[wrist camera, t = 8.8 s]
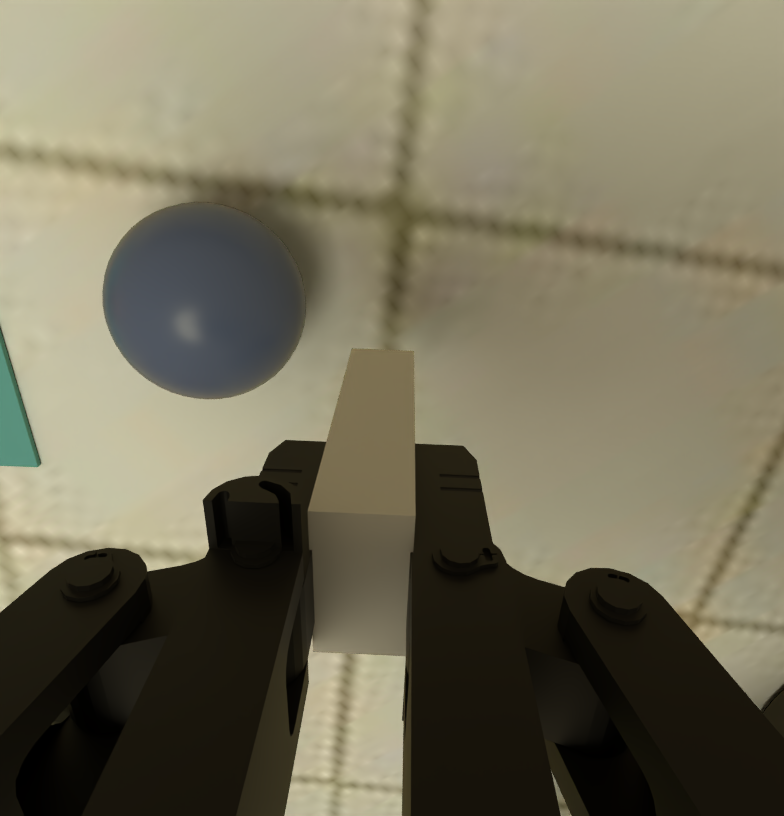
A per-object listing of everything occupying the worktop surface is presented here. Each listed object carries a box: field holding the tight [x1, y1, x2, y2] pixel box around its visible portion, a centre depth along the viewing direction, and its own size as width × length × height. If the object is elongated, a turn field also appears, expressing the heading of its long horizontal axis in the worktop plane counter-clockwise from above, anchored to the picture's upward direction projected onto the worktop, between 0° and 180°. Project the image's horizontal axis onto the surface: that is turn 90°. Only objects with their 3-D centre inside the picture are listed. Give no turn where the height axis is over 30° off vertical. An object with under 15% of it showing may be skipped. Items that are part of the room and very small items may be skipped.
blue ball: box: [103, 202, 306, 399], centre depth 17 cm, size 6×6×6 cm
